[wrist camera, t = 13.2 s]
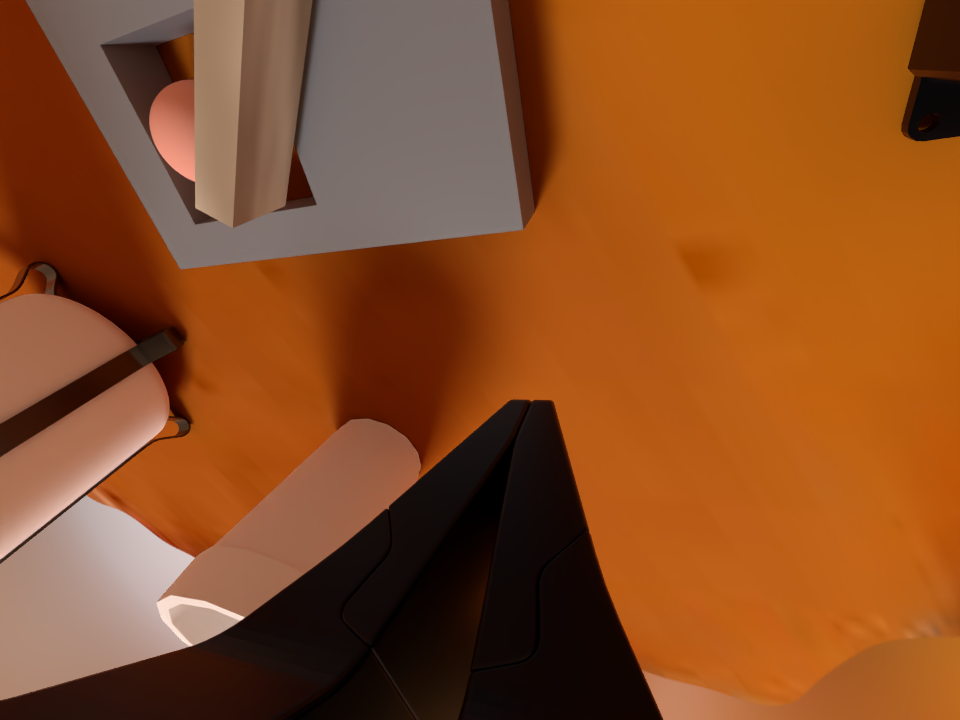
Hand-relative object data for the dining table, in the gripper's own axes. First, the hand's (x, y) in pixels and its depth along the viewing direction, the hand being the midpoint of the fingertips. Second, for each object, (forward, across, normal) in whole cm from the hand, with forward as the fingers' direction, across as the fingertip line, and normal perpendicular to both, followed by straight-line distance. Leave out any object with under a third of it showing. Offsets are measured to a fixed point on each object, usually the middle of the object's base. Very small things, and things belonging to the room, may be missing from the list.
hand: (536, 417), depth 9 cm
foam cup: (+12, +15, +14) cm, 24 cm away
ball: (+10, +15, -6) cm, 19 cm away
